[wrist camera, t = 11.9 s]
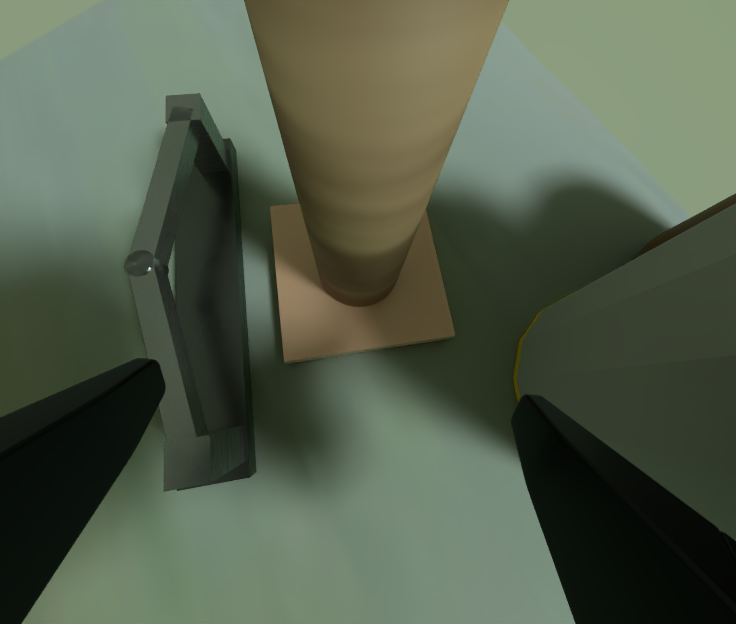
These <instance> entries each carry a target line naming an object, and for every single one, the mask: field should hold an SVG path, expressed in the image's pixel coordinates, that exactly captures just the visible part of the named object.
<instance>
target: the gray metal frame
mask: <svg viewBox="0 0 736 624" xmlns="http://www.w3.org/2000/svg"><path fill="white" fill-rule="evenodd" d="M166 123H167V127H166V131H165V134H164V138H163V141H162V144H161V148H160V151H159V155H158V158H157V162H156V165H155V169H154V172H153V176H152V179H151V183H150V186H149V189H148V193H147V196H146V200H145V203H144V207H143V210H142V214H141V217H140V221H139V224H138V227H137V231H136V234H135V238H134V241H133V245H132V248H131V252H130V255H129V256H128V257H127V259H126V261H125V270H126V272H127V273H128V274H129V277H130V282H131V286H132V290H133V295H134V299H135V303H136V308H137V312H138V317H139V321H140V325H141V330H142V334H143V339H144V343H145V347H146V352H147V356H148V359H154V360H157V361H158V362H159V364H160V367H161V370H162V374H163V377H164V381H165V384H166V390H165V394H164V396H163V398H162V400H161V402H160V404H159V409H160V413H161V418H162V422H163V426H164V431H165V435H166V439H167V442H165V443H164V491H170V490H175V489H177V491H179V490H184V489H190V488H195V487H201V486H206V485H211V484H217V483H222V482H228V481H233V480H238V479H244V478H249V477H251V476H252V475H253V474H255V473H256V458H255V442H254V426H253V410H252V395H251V379H250V363H249V347H248V331H247V316H246V300H245V284H244V268H243V253H242V237H241V221H240V205H239V189H238V174H237V158H236V150H235V148H234V145H233V143H232V141H231V139H230V138H228V139H222V137H221V135H220V133H219V131H218V129H217V127H216V125H215V123H214V121H213V119H212V117H211V115H210V113H209V111H208V109H207V107H206V105H205V103H204V101H203V99H202V97H201V95H200V93H198V94H184V95H170V96H166ZM175 236H176V305H175V301H174V298H173V294H172V290H171V286H170V282H169V278H168V273H169V269H168V263H169V259H170V255H171V251H172V247H173V243H174V240H175Z"/></svg>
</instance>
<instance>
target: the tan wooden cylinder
mask: <svg viewBox="0 0 736 624" xmlns="http://www.w3.org/2000/svg"><path fill="white" fill-rule="evenodd" d="M244 2H245V6H246V9H247V13H248V17H249V20H250V24H251V28H252V31H253V35H254V39H255V42H256V46H257V50H258V53H259V57H260V61H261V64H262V68H263V72H264V75H265V79H266V83H267V86H268V90H269V94H270V97H271V101H272V105H273V108H274V112H275V116H276V119H277V123H278V127H279V130H280V134H281V138H282V141H283V145H284V148H285V152H286V156H287V159H288V163H289V167H290V170H291V174H292V178H293V181H294V185H295V189H296V192H297V196H298V200H299V203H300V207H301V211H302V214H303V218H304V222H305V225H306V229H307V233H308V236H309V240H310V244H311V247H312V251H313V255H314V258H315V262H316V266H317V269H318V273H319V277H320V280H321V283H322V285H323V287H324V289H325V290H326V291H327V293H328V294H329V295H330V296H331V297H332V298H334V299H335V300H336V301H338V302H340V303H342V304H345V305H348V306H353V307H365V306H370V305H373V304H376V303H378V302H380V301H381V300H383V299H384V298H386V297H387V296H388V295H389V294H390V292H391V291H392V290H393V288H394V286H395V284H396V282H397V279H398V277H399V274H400V272H401V269H402V267H403V264H404V262H405V259H406V257H407V254H408V252H409V249H410V247H411V244H412V242H413V239H414V237H415V234H416V232H417V229H418V227H419V224H420V222H421V219H422V217H423V214H424V212H425V209H426V207H427V204H428V202H429V199H430V197H431V194H432V192H433V189H434V187H435V184H436V182H437V179H438V177H439V174H440V172H441V169H442V167H443V164H444V162H445V159H446V157H447V154H448V152H449V149H450V147H451V144H452V142H453V139H454V137H455V134H456V132H457V129H458V127H459V124H460V122H461V119H462V117H463V114H464V112H465V109H466V107H467V104H468V102H469V99H470V97H471V94H472V92H473V89H474V87H475V84H476V82H477V79H478V77H479V74H480V72H481V69H482V67H483V64H484V62H485V59H486V57H487V54H488V52H489V49H490V47H491V44H492V42H493V39H494V37H495V34H496V32H497V29H498V27H499V24H500V22H501V19H502V17H503V14H504V12H505V10H506V7H507V5H508V2H509V0H244Z"/></svg>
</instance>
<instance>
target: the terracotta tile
mask: <svg viewBox="0 0 736 624" xmlns="http://www.w3.org/2000/svg"><path fill="white" fill-rule="evenodd" d="M270 213H271V224H272V235H273V245H274V256H275V267H276V278H277V289H278V300H279V311H280V322H281V333H282V344H283V355H284V362H286V363H288V364H289V363H296V362H302V361H309V360H315V359H322V358H328V357H335V356H341V355H348V354H354V353H361V352H367V351H374V350H380V349H387V348H393V347H400V346H406V345H413V344H419V343H426V342H432V341H439V340H445V339H450V338H452V337H454V336H456V335H455V331H454V326H453V322H452V318H451V314H450V309H449V305H448V301H447V296H446V292H445V288H444V284H443V279H442V275H441V271H440V267H439V262H438V258H437V254H436V250H435V245H434V241H433V237H432V233H431V228H430V224H429V220H428V215H427V211H426V209H425V212H424V214H423V217H422V219H421V222H420V224H419V227H418V229H417V232H416V234H415V237H414V239H413V242H412V244H411V247H410V249H409V252H408V254H407V257H406V259H405V262H404V264H403V267H402V269H401V272H400V274H399V277H398V279H397V282H396V284H395V286H394V288H393V290H392V291H391V292H390V294H389V295H388V296H387V297H386V298H384V299H383V300H381V301H380V302H378V303H376V304H373V305H370V306H365V307H353V306H348V305H345V304H342V303H340V302H338V301H336V300H335V299H334V298H332V297H331V296H330V295H329V294H328V293H327V291H326V290H325V289H324V287H323V285H322V283H321V280H320V277H319V273H318V269H317V266H316V262H315V258H314V255H313V251H312V247H311V244H310V240H309V236H308V233H307V229H306V225H305V222H304V218H303V214H302V211H301V207H300V203H295V204H285V205H276V206H270Z"/></svg>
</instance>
